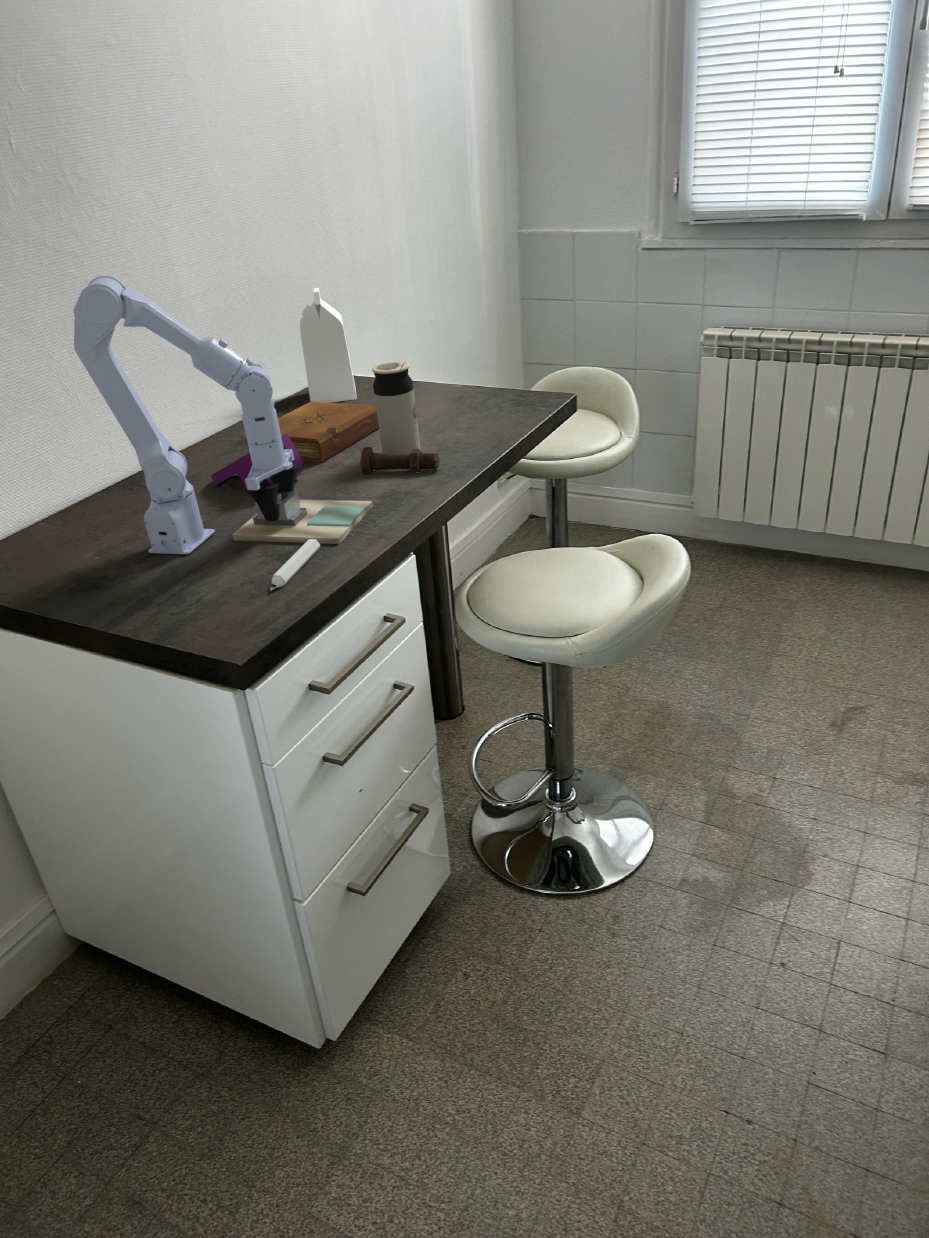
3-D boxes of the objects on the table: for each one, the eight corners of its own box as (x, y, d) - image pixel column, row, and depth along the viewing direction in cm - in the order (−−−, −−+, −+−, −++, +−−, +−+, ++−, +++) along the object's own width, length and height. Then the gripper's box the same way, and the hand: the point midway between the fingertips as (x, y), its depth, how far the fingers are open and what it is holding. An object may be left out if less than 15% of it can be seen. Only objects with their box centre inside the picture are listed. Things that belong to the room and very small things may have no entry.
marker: (271, 600, 140) (313, 553, 153) (280, 594, 139) (322, 548, 152) (260, 586, 139) (304, 540, 152) (269, 581, 138) (313, 535, 151)
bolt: (439, 480, 180) (365, 481, 182) (441, 460, 183) (368, 461, 185) (434, 461, 175) (358, 462, 177) (437, 441, 178) (362, 442, 180)
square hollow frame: (287, 520, 159) (284, 504, 157) (258, 519, 160) (254, 503, 159) (300, 507, 163) (297, 491, 162) (272, 506, 165) (269, 491, 163)
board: (339, 543, 153) (338, 536, 153) (233, 540, 159) (231, 533, 158) (372, 506, 166) (371, 499, 166) (273, 504, 172) (272, 497, 171)
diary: (323, 466, 190) (319, 439, 187) (253, 459, 198) (247, 433, 196) (381, 429, 207) (378, 404, 205) (314, 424, 216) (310, 400, 213)
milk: (356, 399, 230) (340, 291, 217) (311, 405, 229) (291, 297, 216) (355, 386, 240) (339, 283, 227) (311, 392, 239) (293, 288, 227)
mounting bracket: (223, 517, 185) (279, 489, 173) (201, 480, 183) (256, 449, 171) (253, 499, 192) (309, 471, 180) (232, 464, 190) (287, 433, 178)
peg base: (295, 525, 159) (290, 499, 157) (254, 524, 161) (248, 498, 159) (307, 514, 163) (302, 488, 161) (267, 513, 166) (261, 487, 163)
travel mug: (377, 459, 188) (365, 372, 180) (389, 446, 195) (377, 361, 186) (414, 459, 186) (403, 371, 178) (425, 446, 193) (415, 360, 184)
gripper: (266, 454, 148) (282, 530, 155) (303, 425, 160) (316, 497, 167) (227, 453, 150) (245, 529, 157) (267, 425, 162) (281, 497, 169)
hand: (279, 513), depth 162 cm, fingers closed on square hollow frame, 6 cm apart
